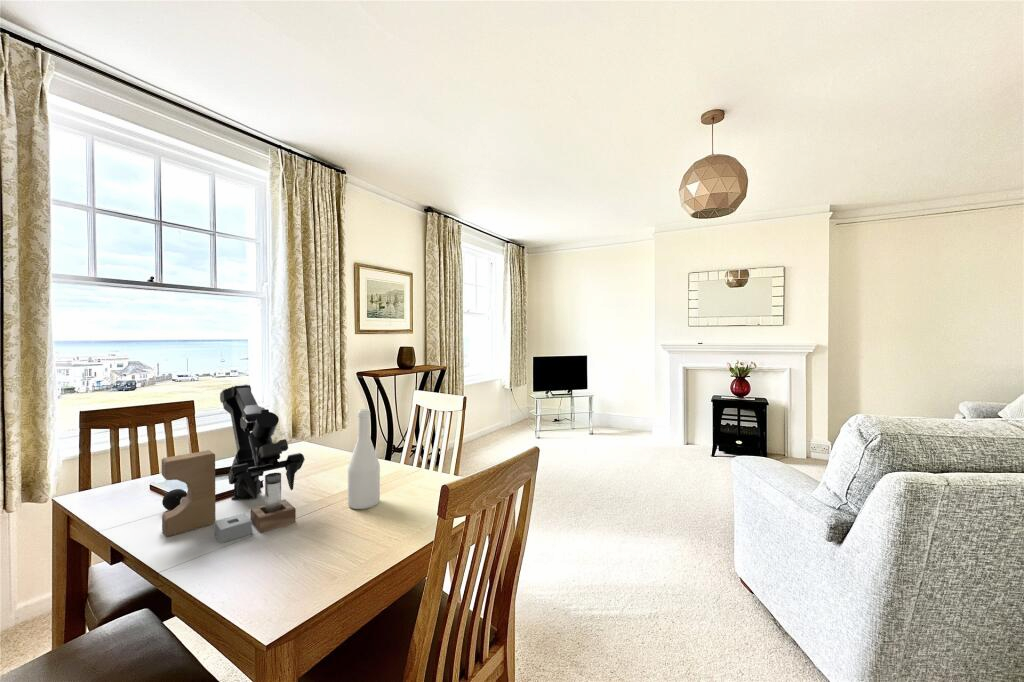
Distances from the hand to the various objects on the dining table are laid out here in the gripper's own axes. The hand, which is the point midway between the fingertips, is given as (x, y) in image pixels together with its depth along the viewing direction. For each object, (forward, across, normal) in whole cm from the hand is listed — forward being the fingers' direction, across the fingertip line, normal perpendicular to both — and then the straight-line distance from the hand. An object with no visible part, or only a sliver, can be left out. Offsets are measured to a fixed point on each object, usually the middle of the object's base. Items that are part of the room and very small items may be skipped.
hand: (274, 493), depth 118 cm
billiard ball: (-16, -18, +29) cm, 38 cm away
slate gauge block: (+5, -10, +7) cm, 13 cm away
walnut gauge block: (+5, 0, +7) cm, 9 cm away
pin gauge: (+5, 0, +7) cm, 8 cm away
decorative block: (-4, -17, +16) cm, 24 cm away
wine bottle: (+10, +24, +3) cm, 26 cm away
